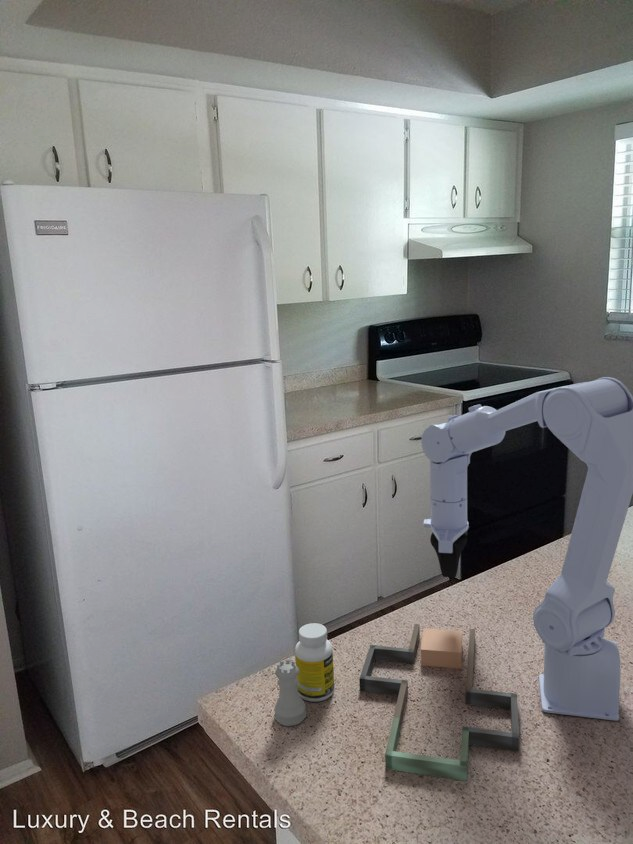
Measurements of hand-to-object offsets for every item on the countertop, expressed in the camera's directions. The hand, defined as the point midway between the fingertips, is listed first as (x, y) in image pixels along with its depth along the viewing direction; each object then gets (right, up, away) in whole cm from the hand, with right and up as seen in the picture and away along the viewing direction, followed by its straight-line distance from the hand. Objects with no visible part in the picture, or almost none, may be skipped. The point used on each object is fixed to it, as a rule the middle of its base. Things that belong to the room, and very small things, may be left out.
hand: (449, 575), depth 105 cm
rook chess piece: (-25, -16, -17) cm, 34 cm away
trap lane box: (-4, -13, -13) cm, 19 cm away
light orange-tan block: (-2, -12, -5) cm, 13 cm away
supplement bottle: (-22, -14, -12) cm, 28 cm away
